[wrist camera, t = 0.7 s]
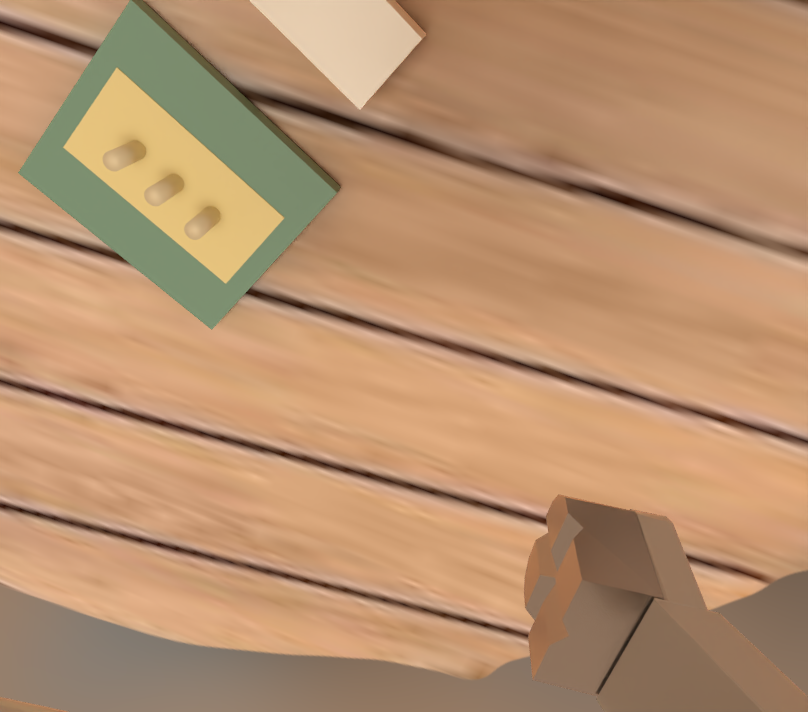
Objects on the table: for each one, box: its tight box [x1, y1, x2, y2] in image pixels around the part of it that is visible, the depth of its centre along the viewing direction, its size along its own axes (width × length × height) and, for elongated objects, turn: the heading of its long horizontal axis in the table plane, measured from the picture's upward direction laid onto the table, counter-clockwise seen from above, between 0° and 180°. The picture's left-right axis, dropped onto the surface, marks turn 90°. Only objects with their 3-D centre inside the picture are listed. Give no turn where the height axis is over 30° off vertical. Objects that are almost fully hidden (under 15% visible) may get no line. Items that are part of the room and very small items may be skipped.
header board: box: [18, 0, 341, 330], centre depth 43 cm, size 14×16×5 cm
